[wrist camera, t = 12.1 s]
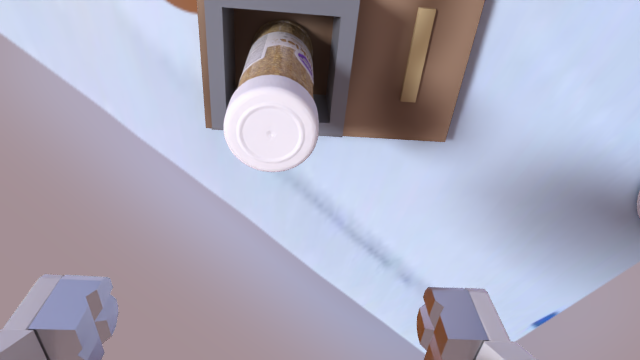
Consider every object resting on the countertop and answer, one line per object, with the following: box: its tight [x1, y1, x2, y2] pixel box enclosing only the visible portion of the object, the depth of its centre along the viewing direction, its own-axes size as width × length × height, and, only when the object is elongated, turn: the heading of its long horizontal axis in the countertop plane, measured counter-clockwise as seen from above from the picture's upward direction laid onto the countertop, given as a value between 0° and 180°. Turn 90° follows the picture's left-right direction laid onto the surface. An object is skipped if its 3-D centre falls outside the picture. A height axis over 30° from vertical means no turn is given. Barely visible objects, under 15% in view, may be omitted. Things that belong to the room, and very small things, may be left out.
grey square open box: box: [204, 0, 360, 137], centre depth 29 cm, size 9×9×5 cm
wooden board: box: [197, 0, 485, 142], centre depth 32 cm, size 20×14×2 cm
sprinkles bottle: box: [224, 19, 319, 172], centre depth 25 cm, size 5×5×13 cm
